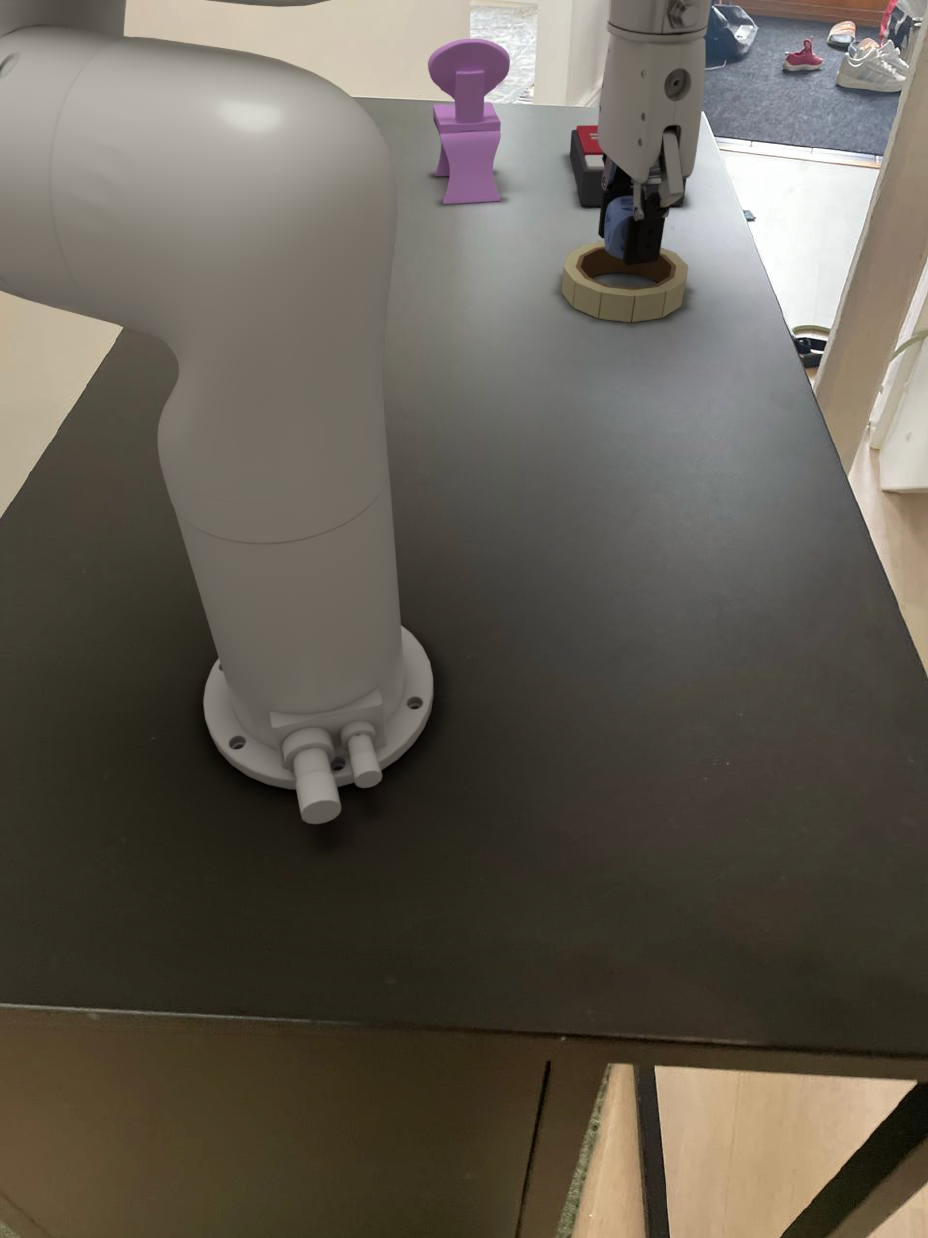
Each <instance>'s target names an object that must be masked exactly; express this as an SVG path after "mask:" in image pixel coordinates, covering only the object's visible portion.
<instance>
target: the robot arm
mask: <svg viewBox="0 0 928 1238" xmlns="http://www.w3.org/2000/svg"><path fill="white" fill-rule="evenodd" d="M206 1H208V2H218V3H225V4H226V3H227V4H234V5H244V6H259V7H275V8H285V7H288V8H289V7H306V6H312V5H316V4H320V3H324V2H325V3H326V2H329V1H331V0H206ZM711 7H712V0H608V7H607V8H608V9H607V21H606V31H607V32H608V33H610V34H609V40H608V44H607V45H608V46H607V51H606V56H605V63H604V69H603V76H602V83H601V90H600V96H599V105H598V106H599V108H598V117H597V118H598V119H597V125H598V143H599V146H600V148H601V149H602V151H603V157H602V161H603V162H604V171H603V176H602V187H603V189H604V190H607V189H608V191H603V192H602V202H601V206H600V210H599V211H600V212H599V221H598V230H597V235H598V236H599V237H600V238H601V239H603V240H604V228H605V217H606V211H607V207H608V205H609V204H610V203H611V202H612V201H613V200H614V199H616V198H618V197H623V196H633V216H629V217H628V222H627V230H626V237H625V245H624V253H623V262H624V263H625V264H626V265H635V264H642V263H650V262H656V261H657V260H658V259H659V255H660V249H661V247H662V241H663V236H664V228H665V222H666V218H668V217H669V215H670V209H671V208H672V207H673V206H674V205H673V203H675V202H676V201H677V200H679V199H680V198H681V197H682V196H683V193H684V187H683V179H686V178H687V179H689V178H690V177H691V176H692V175H693V172H694V169H695V164H696V157H697V152H698V145H699V144H698V143H699V137H700V130H701V120H702V113H703V102H704V93H705V81H706V80H705V79H706V55H707V54H706V39H705V38H704V37H705V36H706V34H707V30H708V25H709V18H710V13H711ZM126 11H127V0H0V292H3V293H6V294H7V295H8V294H9V295H10V296H14V297H17V298H20V299H23V300H26V301H30V302H31V303H36V304H40V305H44V306H46V307H50V308H52V309H58V310H61V311H64V312H65V311H66V312H69V313H72V314H75V315H80V316H84V317H87V318H92V319H95V320H99V321H101V322H107V323H110V324H114V325H117V326H119V327H121V328H124V329H127V330H130V331H133V332H137V333H140V334H144V335H147V336H150V337H153V338H155V339H157V340H159V341H161V342H163V343H164V344H165V345H166V346H168V347H169V348H170V350H171V351H172V352H173V353H174V356H175V358H176V360H177V363H178V365H177V366H178V376H177V380H176V383H175V385H174V386H173V389H172V391H171V393H170V395H169V396H168V398H167V400H166V402H165V404H164V406H163V408H162V411H161V414H160V416H159V421H158V426H157V453H158V459H159V464H160V468H161V472H162V477H163V479H164V483H165V487H166V490H167V494H168V497H169V500H170V503H171V504H172V507H173V509H174V512H175V515H176V519H177V523H178V525H179V530H180V532H181V536H182V540H183V543H184V546H185V549H186V553H187V556H188V559H189V563H190V567H191V570H192V574H193V576H194V580H195V583H196V586H197V590H198V593H199V596H200V600H201V604H202V607H203V609H204V613H205V616H206V620H207V623H208V626H209V630H210V633H211V636H212V640H213V643H214V646H215V651H216V653H217V656H218V657H217V659H216V661H215V662H214V664H213V666H212V667H211V669H210V673H209V674H208V677H207V680H206V683H205V685H204V692H203V693H204V694H203V699H202V704H203V712H204V720H205V722H206V726H207V728H208V732H209V735H210V737H211V740H212V741H213V743H214V745H215V747H216V748H217V751H218V752H219V753H220V754H221V755H222V756H223V758H225V759H226V760H227V762H228V763H229V764H230V765H231V766H232V767H233V768H235V769H237V770H238V771H239V772H241V773H242V774H243V775H245V776H247V777H249V778H251V779H254V780H256V781H258V782H261V783H263V784H266V785H268V786H273V787H277V788H282V789H287V790H296V795H297V801H298V806H299V807H298V808H299V812H300V816H301V817H300V818H301V820H302V821H303V822H305V823H306V824H310V825H320V824H321V825H322V824H325V823H329V822H330V821H333V820H335V819H336V818H337V817H338V816H339V815H340V814H341V812H342V804H341V800H340V795H339V790H338V788H339V787H343V786H346V785H350V784H354V785H355V786H356V787H358V788H361V789H367V788H372V787H375V786H377V785H378V784H379V783H380V782H381V781H382V780H383V773H382V771H383V770H384V769H386V768H387V767H389V766H390V765H392V764H393V763H395V762H396V761H398V760H399V759H400V758H401V757H402V756H403V755H404V754H405V753H406V752H407V751H408V750H409V749H410V748H411V747H412V746H413V745H414V744H415V742H416V741H417V739H418V738H419V737H420V735H421V733H422V732H423V731H424V729H425V727H426V724H427V722H428V720H429V717H430V715H431V713H432V706H433V701H434V695H435V694H434V693H435V692H434V676H433V670H432V666H431V661H430V659H429V658H428V657H429V656H428V655H427V653H426V651H425V649H424V647H423V645H422V644H421V643H420V642H419V640H418V639H417V638H416V636H415V635H414V634H413V633H412V632H410V631H409V630H408V629H407V628H406V627H404V626H403V625H402V620H401V619H402V618H401V608H400V594H399V583H398V581H399V580H398V570H397V557H396V544H395V542H396V541H395V532H394V531H395V529H394V518H393V517H394V515H393V504H392V491H391V478H390V467H389V457H388V444H387V443H388V442H387V429H386V428H387V426H386V409H385V366H384V365H385V342H386V326H387V318H388V317H387V315H388V307H389V298H390V297H389V296H390V289H391V280H392V273H393V264H394V257H395V248H396V240H397V230H398V229H397V227H398V217H399V216H398V214H399V213H398V210H399V209H398V185H397V178H396V174H395V173H396V172H395V167H394V163H393V158H392V155H391V152H390V150H389V147H388V145H387V142H386V140H385V138H384V136H383V134H382V131H380V129H379V127H378V126H377V124H376V122H375V120H373V119H372V118H371V116H370V115H369V114H368V112H367V111H366V109H364V107H363V106H361V104H359V102H358V101H357V100H355V98H354V97H353V96H352V95H350V94H348V93H347V92H346V91H345V90H344V89H343V88H342V87H340V86H338V85H336V84H335V83H334V82H332V81H331V80H329V79H327V78H325V77H324V76H321V75H319V74H317V73H315V72H314V71H311V70H309V69H306V68H304V67H301V66H299V65H296V64H293V63H291V62H287V61H285V60H282V59H279V58H275V57H271V56H267V55H262V54H258V53H254V52H249V51H243V50H237V49H232V48H225V47H220V46H211V45H204V44H198V43H197V44H196V43H192V42H183V41H177V40H169V39H162V38H156V37H143V36H127V35H124V34H125V22H126V21H125V19H126ZM658 168H660V175H657V176H649V170H650V169H658ZM652 185H658V191H657V192H652V193H651V194H650V195H649V196H648V198H647V199H646V200H645V190H646V186H652ZM633 186H634V188H631V187H633ZM684 194H685V193H684Z"/></svg>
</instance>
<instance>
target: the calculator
mask: <svg viewBox="0 0 928 1238" xmlns="http://www.w3.org/2000/svg"><path fill="white" fill-rule="evenodd" d="M569 147H570V148H569V159H570V163H571V166H572V170H573V174H574V177H575V180H576V185H577V194H578V199H579V202H580V205H581V206H585V207H586V206H587V207H588V206H589V207H593V206H594V207H595V206H600V207H601V202H602V192H603V191H608V189H607V190H604V189H603V187H602V176H603V171H604V162H603V161H602V157H603V151H602V149H601V148H600V146H599V143H598V124H597V125H590V124H589V125H586V124H585V125H576V129H572V130H571V134H570V146H569ZM657 175H660V168H658V169H650V170H649V176H657ZM687 179H688V178H686V179H683V187H684V193H683V196H682V197H681V198H680V199H679V200H677V201H676V202H675V203H673V205H672V206H682V205H683V204H684V198H685V191H686V186H687ZM631 188H634V186H633V187H631ZM657 191H658V185H652V186H646V190H645V198H648V196H649V195H650V194H651V193H652V192H657Z"/></svg>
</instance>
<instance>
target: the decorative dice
mask: <svg viewBox="0 0 928 1238" xmlns="http://www.w3.org/2000/svg"><path fill="white" fill-rule="evenodd" d="M646 199H647V198H645V200H646ZM629 216H633V196H623V197H618V198H616V199H614V200H613V201H612V202H611V203H610V204H609V205H608V207H607V211H606V217H605V228H604V239H603V240H604V242H605V249H606V251H607V252H608V253H609V254H610V255H612V256H614V257H617V258H621V259H623V253H624V245H625V237H626V230H627V222H628V217H629Z"/></svg>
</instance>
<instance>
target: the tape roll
mask: <svg viewBox="0 0 928 1238" xmlns="http://www.w3.org/2000/svg"><path fill="white" fill-rule="evenodd" d="M688 271H689V265H688V263H686V261H684V260H683V258H681V257H680V256H679V254H678V253H676V252H674V251H672V250H669V249H667V248H665V247H662V246H661V249H660V255H659V259H658V260H657V261H656V262H650V263H642V264H635V265H626V264H625V263H624V262H623V259H621V258H617V257H614V256H612V255H610V254H609V253H608V252H607V251H606V249H605V242H604V241H597V242H596V241H595V242H590V243H586V244H584V245H583V246H580V247H579V248H577V249H575V250H573V251H571V252H569V253H568V255H567V257H566V260H565V263H564V265H563V269H562V281H561V282H562V283H561V295H563V297H564V298H565V299H566V301H567V302H568V303H569V305H570V306H571V307H572V308H573V309H575V310H578V311H580V312H582V313H584V314H587V315H589V316H591V317H593V318H595V319H599V320H605V321H614V322H623V323H638V322H643V321H651V320H658V319H662V318H665V317H666V316H668V315H670V314H671V313H673V312H675V311H676V310H678V309H679V308H681V307H682V305H683V299H684V295H685V290H686V289H685V288H686V283H687V278H688ZM611 273H623V274H633V275H640V276H643V277H645V278H647V279H649V280H652V281H655V282H657V283H656V284H651V285H643V286H636V287H630V286H629V287H628V286H619V285H611V284H607V283H604V282H602V281H599V280H597V279H594V278H593V277H594V276H596V275H605V274H611Z"/></svg>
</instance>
